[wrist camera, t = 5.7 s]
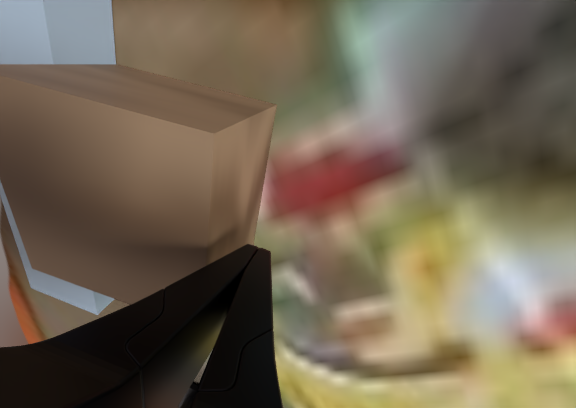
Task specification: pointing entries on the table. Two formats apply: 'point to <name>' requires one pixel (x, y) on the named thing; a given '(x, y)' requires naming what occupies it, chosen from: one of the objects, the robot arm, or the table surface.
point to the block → (128, 173)
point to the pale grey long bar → (56, 50)
